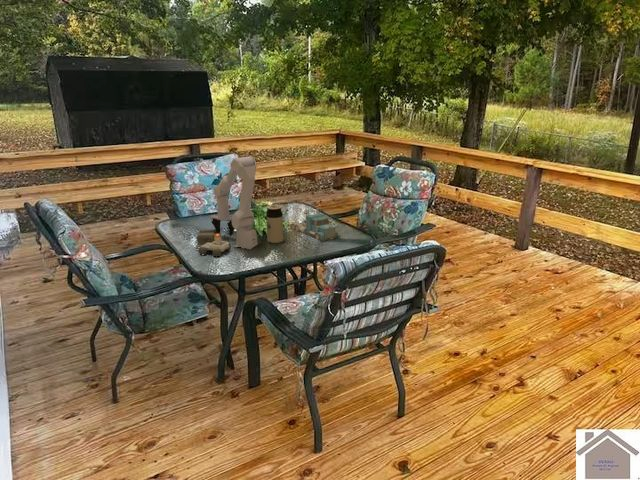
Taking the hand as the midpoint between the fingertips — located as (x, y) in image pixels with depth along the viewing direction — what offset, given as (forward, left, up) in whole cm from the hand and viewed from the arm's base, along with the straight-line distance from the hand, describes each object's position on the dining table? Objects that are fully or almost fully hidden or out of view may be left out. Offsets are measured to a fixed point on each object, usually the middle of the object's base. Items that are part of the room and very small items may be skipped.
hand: (225, 234), depth 242 cm
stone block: (+5, +7, -3) cm, 10 cm away
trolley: (-4, +20, -2) cm, 20 cm away
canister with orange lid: (-9, +20, +1) cm, 22 cm away
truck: (-40, -25, -3) cm, 47 cm away
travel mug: (-26, -6, -3) cm, 27 cm away
